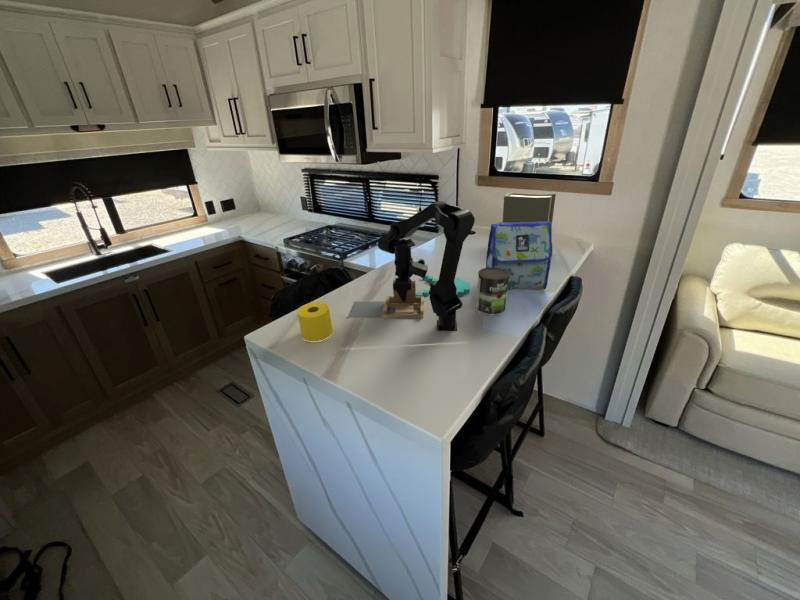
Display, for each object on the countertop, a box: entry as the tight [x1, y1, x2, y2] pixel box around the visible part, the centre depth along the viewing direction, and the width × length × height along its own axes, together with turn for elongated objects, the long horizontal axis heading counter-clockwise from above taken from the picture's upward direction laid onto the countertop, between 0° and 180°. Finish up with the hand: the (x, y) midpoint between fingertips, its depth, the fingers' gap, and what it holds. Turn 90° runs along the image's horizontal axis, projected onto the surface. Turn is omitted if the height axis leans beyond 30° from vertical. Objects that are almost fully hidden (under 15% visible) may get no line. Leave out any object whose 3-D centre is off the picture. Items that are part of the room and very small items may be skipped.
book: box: [502, 192, 557, 226], centre depth 170 cm, size 22×9×28 cm, turn 55°
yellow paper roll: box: [296, 301, 334, 341], centre depth 115 cm, size 10×10×9 cm
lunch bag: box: [485, 221, 553, 291], centre depth 136 cm, size 22×17×26 cm
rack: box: [382, 295, 425, 319], centre depth 128 cm, size 11×14×3 cm
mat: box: [347, 300, 386, 319], centre depth 130 cm, size 12×12×1 cm
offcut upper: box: [394, 306, 415, 314], centre depth 127 cm, size 4×6×1 cm, turn 89°
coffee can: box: [475, 267, 509, 317], centre depth 124 cm, size 10×10×14 cm
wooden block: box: [392, 280, 417, 303], centre depth 129 cm, size 2×8×10 cm, turn 85°
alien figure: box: [416, 273, 471, 297], centre depth 143 cm, size 20×2×20 cm
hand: (404, 296), depth 130 cm, fingers open, 7 cm apart
